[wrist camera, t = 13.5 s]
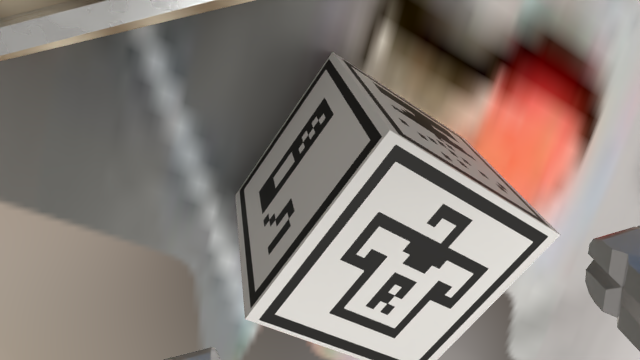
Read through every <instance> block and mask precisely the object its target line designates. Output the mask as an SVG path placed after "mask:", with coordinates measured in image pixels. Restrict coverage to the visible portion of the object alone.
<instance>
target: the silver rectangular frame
mask: <svg viewBox="0 0 640 360" xmlns="http://www.w3.org/2000/svg"><path fill="white" fill-rule="evenodd" d="M210 1H213V0H71V1H67V2H63V3H59V4H55V5H51V6H47V7H43V8H40V9H36V10H32V11H28V12H24V13H20V14H16V15H12V16H8V17H4V18H0V56H1V55H5V54H9V53H13V52H17V51H21V50H25V49H28V48H32V47H36V46H40V45H44V44H48V43H52V42H55V41H59V40H63V39H67V38H71V37H75V36H79V35H82V34H86V33H90V32H94V31H98V30H102V29H105V28H109V27H113V26H117V25H121V24H125V23H129V22H132V21H136V20H140V19H144V18H148V17H152V16H156V15H159V14H163V13H167V12H171V11H175V10H179V9H183V8H186V7H190V6H194V5H198V4H202V3H206V2H210Z"/></svg>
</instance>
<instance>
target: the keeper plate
mask: <svg viewBox="0 0 640 360" xmlns="http://www.w3.org/2000/svg"><path fill="white" fill-rule="evenodd" d="M67 1H71V0H0V18H4V17H8V16H12V15H16V14H20V13H24V12H28V11H32V10H36V9H40V8H43V7H47V6H51V5H55V4H59V3H63V2H67ZM250 1H254V0H213V1H210V2H206V3H202V4H198V5H194V6H190V7H186V8H183V9H179V10H175V11H171V12H167V13H163V14H159V15H156V16H152V17H148V18H144V19H140V20H136V21H132V22H129V23H125V24H121V25H117V26H113V27H109V28H105V29H102V30H98V31H94V32H90V33H86V34H82V35H79V36H75V37H71V38H67V39H63V40H59V41H55V42H52V43H48V44H44V45H40V46H36V47H32V48H28V49H25V50H21V51H17V52H13V53H9V54H5V55H1V56H0V61H3V60H7V59H11V58H15V57H19V56H23V55H28V54H32V53H36V52H40V51H44V50H49V49H53V48H57V47H61V46H65V45H70V44H74V43H78V42H82V41H86V40H91V39H95V38H99V37H103V36H107V35H111V34H116V33H120V32H124V31H128V30H132V29H137V28H141V27H145V26H149V25H153V24H158V23H162V22H166V21H170V20H174V19H179V18H183V17H187V16H191V15H195V14H199V13H204V12H208V11H212V10H216V9H220V8H225V7H229V6H233V5H237V4H241V3H246V2H250Z"/></svg>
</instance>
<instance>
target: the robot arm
mask: <svg viewBox="0 0 640 360" xmlns="http://www.w3.org/2000/svg"><path fill="white" fill-rule="evenodd" d="M588 254H589V255H590V256H591V257H592V258H593V259H594V260H593V261H592V263H591V264H590V265H589V266H588V268H587V269H586V279H585V282H586V285H587V288H588V291H589V294H590V296H591V297H592V299H593V301H594V302H595V304H596V305H597V306H598V307H599V308H600V309H601V310H602V311H603V312H605V313H607V314H610V315H612V316H615V317H617V328H618V329H619V330H620V331H621V332H622V333H623V334H624V335H625V336H626V337H627V338H628V339H629V341H630V342H631V343H632V344H633V345H634V346H635V347H636V348H637V349H638V350H639V351H640V226H637V227H632V228H629V229H626V230H622V231H619V232H615V233H612V234H609V235H605V236H602V237H599V238H595V239H593V240H592V242H591V243H590V244H589V251H588ZM164 360H220V357H219V355H218V353H217V351H216V349H215V348H214V347H211V348H207V349H203V350H199V351H195V352H192V353H187V354H184V355H180V356H176V357H172V358H168V359H164Z"/></svg>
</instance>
